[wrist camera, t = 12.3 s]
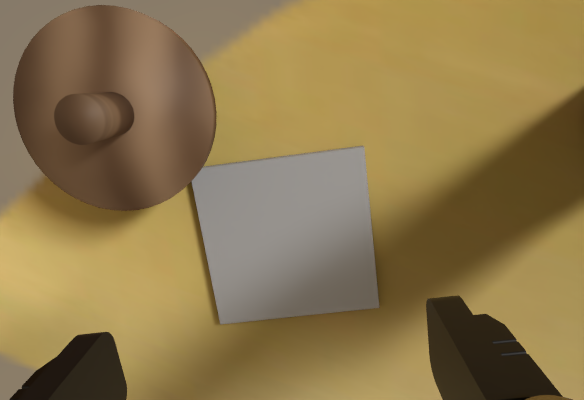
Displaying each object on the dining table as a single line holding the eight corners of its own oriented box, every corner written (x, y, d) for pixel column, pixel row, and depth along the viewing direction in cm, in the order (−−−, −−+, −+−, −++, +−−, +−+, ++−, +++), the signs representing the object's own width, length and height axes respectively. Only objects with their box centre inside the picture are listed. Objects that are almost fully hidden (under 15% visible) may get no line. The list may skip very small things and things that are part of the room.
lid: (195, -8, 31) (168, -29, 25) (232, 193, 35) (216, 216, 29) (-3, 25, 32) (-73, 12, 26) (54, 217, 36) (4, 244, 30)
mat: (363, 145, 40) (364, 147, 39) (378, 303, 44) (379, 307, 43) (191, 168, 41) (189, 169, 40) (221, 320, 45) (220, 324, 44)
